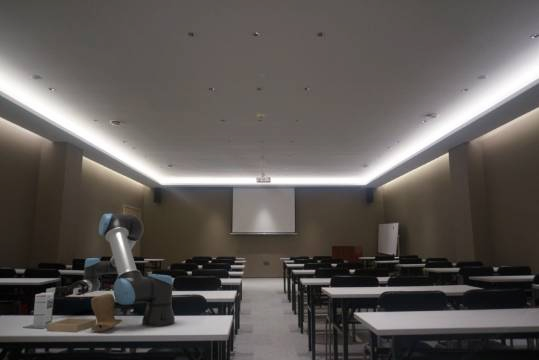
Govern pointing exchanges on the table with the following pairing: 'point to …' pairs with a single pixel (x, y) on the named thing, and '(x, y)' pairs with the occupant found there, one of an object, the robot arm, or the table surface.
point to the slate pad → (36, 327)
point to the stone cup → (104, 312)
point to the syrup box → (43, 309)
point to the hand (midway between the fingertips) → (60, 291)
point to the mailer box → (71, 325)
